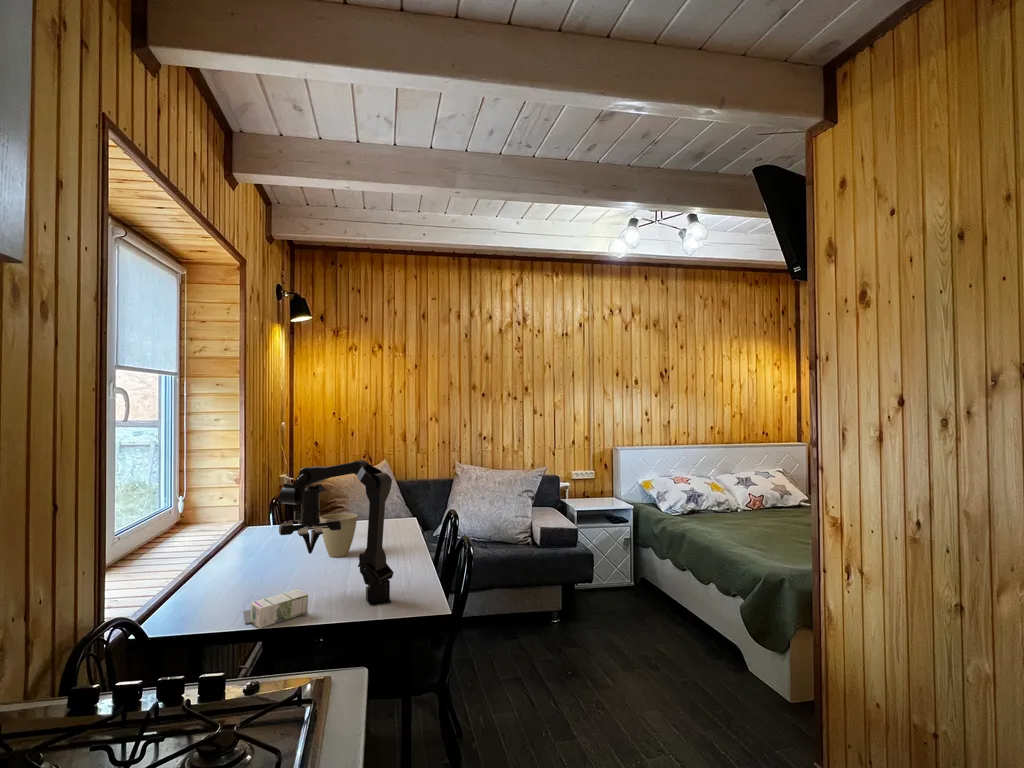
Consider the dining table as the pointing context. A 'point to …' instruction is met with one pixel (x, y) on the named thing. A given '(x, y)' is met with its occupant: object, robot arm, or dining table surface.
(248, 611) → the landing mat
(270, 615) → the syrup box
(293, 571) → the dining table surface
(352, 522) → the plant pot
